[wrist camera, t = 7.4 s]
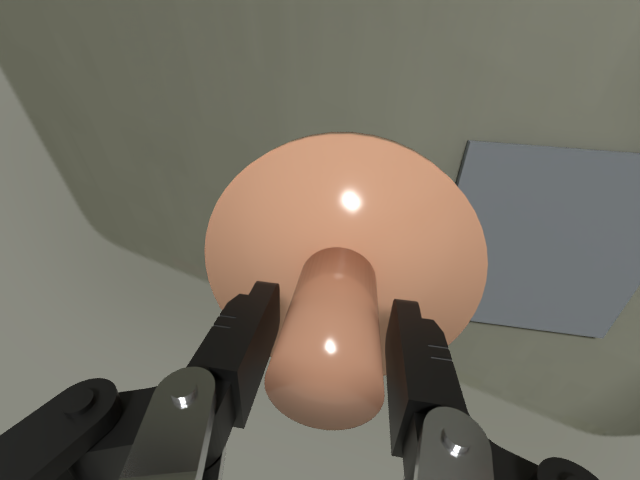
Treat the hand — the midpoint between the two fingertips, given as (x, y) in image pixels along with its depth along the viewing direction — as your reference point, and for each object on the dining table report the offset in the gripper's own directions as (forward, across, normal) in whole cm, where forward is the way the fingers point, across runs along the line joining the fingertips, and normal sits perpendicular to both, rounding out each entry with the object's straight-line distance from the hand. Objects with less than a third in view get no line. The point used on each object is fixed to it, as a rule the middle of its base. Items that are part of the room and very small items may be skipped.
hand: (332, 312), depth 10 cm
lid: (+3, 0, 0) cm, 3 cm away
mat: (+13, -14, +3) cm, 19 cm away
